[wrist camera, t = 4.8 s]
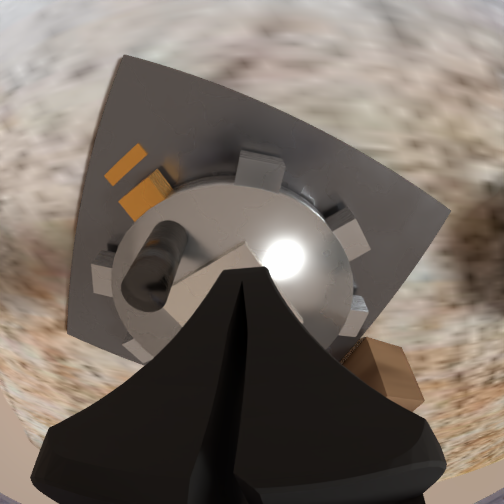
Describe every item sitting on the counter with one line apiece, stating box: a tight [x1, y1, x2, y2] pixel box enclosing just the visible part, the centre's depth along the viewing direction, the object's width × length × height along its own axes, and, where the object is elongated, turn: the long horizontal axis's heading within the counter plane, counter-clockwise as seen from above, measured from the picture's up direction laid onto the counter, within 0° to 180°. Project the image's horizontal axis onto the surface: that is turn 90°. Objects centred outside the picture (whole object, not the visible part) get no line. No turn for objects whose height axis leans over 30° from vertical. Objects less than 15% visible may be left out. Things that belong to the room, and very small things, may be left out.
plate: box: [67, 55, 451, 365], centre depth 17 cm, size 18×18×1 cm
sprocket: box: [91, 150, 371, 363], centre depth 14 cm, size 14×14×6 cm
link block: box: [342, 337, 425, 412], centre depth 19 cm, size 4×4×5 cm
